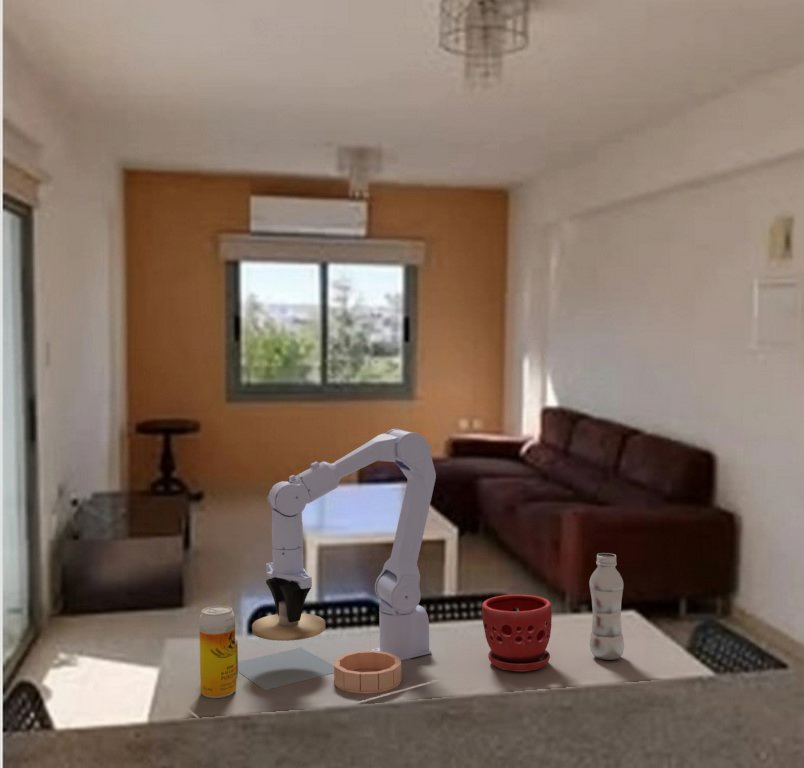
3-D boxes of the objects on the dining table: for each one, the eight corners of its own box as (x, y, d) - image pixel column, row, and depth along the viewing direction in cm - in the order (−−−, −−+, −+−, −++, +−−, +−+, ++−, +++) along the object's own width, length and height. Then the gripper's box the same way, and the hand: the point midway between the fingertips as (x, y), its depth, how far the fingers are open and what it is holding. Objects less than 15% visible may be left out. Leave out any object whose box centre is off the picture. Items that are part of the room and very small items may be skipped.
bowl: (377, 667, 172) (376, 646, 172) (414, 686, 162) (413, 664, 162) (322, 681, 165) (321, 659, 165) (357, 702, 155) (357, 679, 155)
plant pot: (548, 652, 179) (547, 592, 178) (555, 677, 165) (554, 612, 165) (481, 651, 179) (481, 591, 179) (483, 676, 166) (482, 611, 166)
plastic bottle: (605, 666, 171) (605, 560, 170) (582, 655, 177) (582, 553, 176) (631, 660, 174) (631, 556, 173) (608, 649, 180) (608, 549, 179)
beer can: (228, 702, 155) (226, 615, 155) (195, 700, 156) (193, 614, 156) (241, 689, 161) (239, 605, 161) (209, 686, 162) (207, 604, 162)
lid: (303, 613, 179) (303, 588, 179) (338, 631, 168) (338, 604, 168) (240, 626, 172) (239, 600, 171) (272, 645, 160) (272, 617, 160)
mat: (301, 649, 182) (300, 647, 182) (342, 672, 169) (342, 670, 169) (227, 666, 173) (226, 664, 173) (265, 692, 160) (265, 689, 160)
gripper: (251, 542, 173) (252, 613, 174) (286, 556, 161) (288, 632, 162) (284, 537, 177) (285, 606, 178) (321, 551, 165) (322, 624, 166)
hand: (289, 618), depth 170 cm, fingers closed on lid, 4 cm apart
